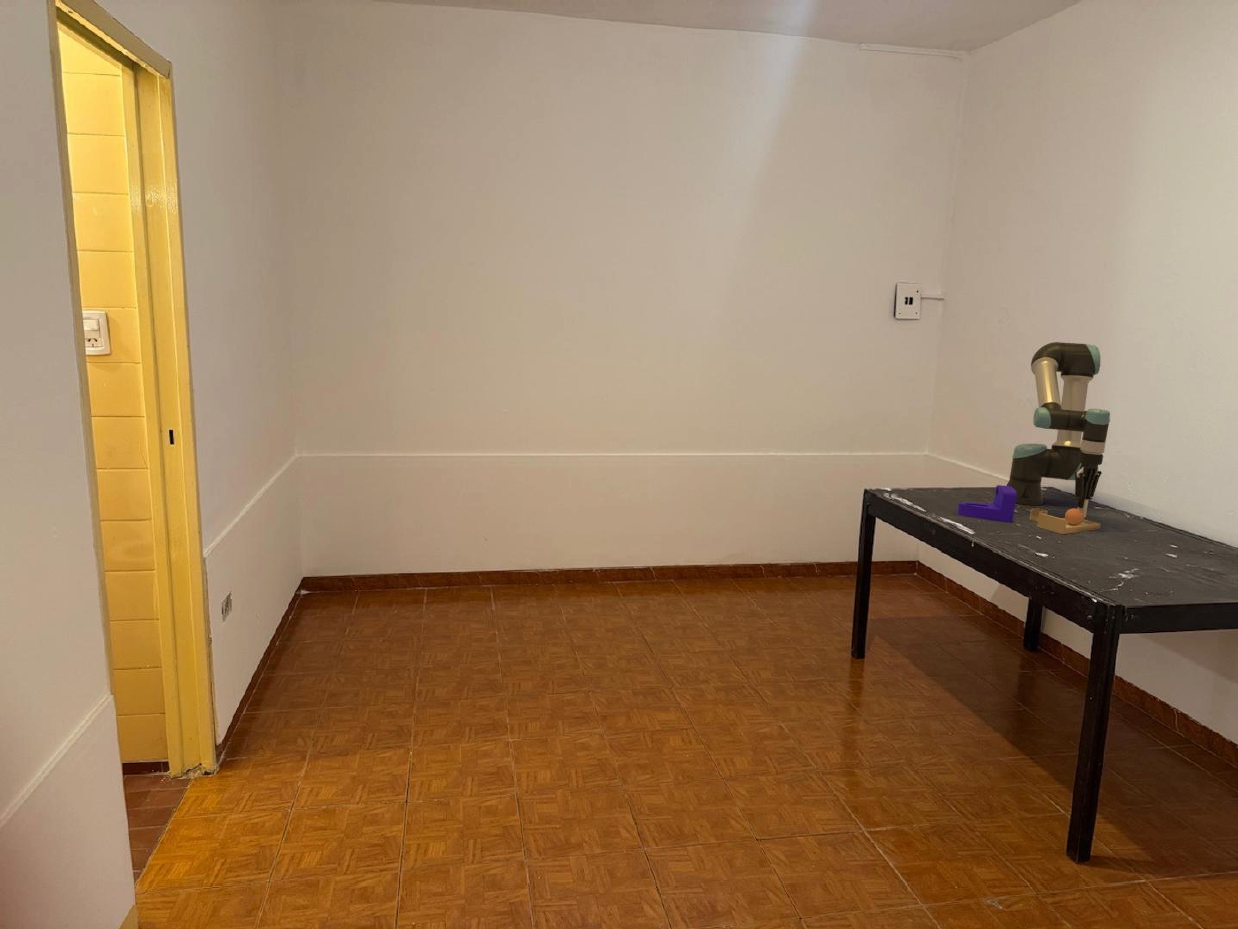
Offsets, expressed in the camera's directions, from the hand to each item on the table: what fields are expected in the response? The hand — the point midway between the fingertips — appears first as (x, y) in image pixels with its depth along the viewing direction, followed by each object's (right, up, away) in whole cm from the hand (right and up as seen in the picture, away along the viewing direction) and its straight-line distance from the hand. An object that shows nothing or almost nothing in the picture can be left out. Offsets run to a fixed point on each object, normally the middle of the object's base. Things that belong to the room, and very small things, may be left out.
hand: (1080, 516), depth 313 cm
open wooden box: (-12, -2, +6) cm, 14 cm away
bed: (-5, -4, -2) cm, 7 cm away
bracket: (-32, -1, +8) cm, 33 cm away
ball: (-3, 0, -2) cm, 4 cm away
